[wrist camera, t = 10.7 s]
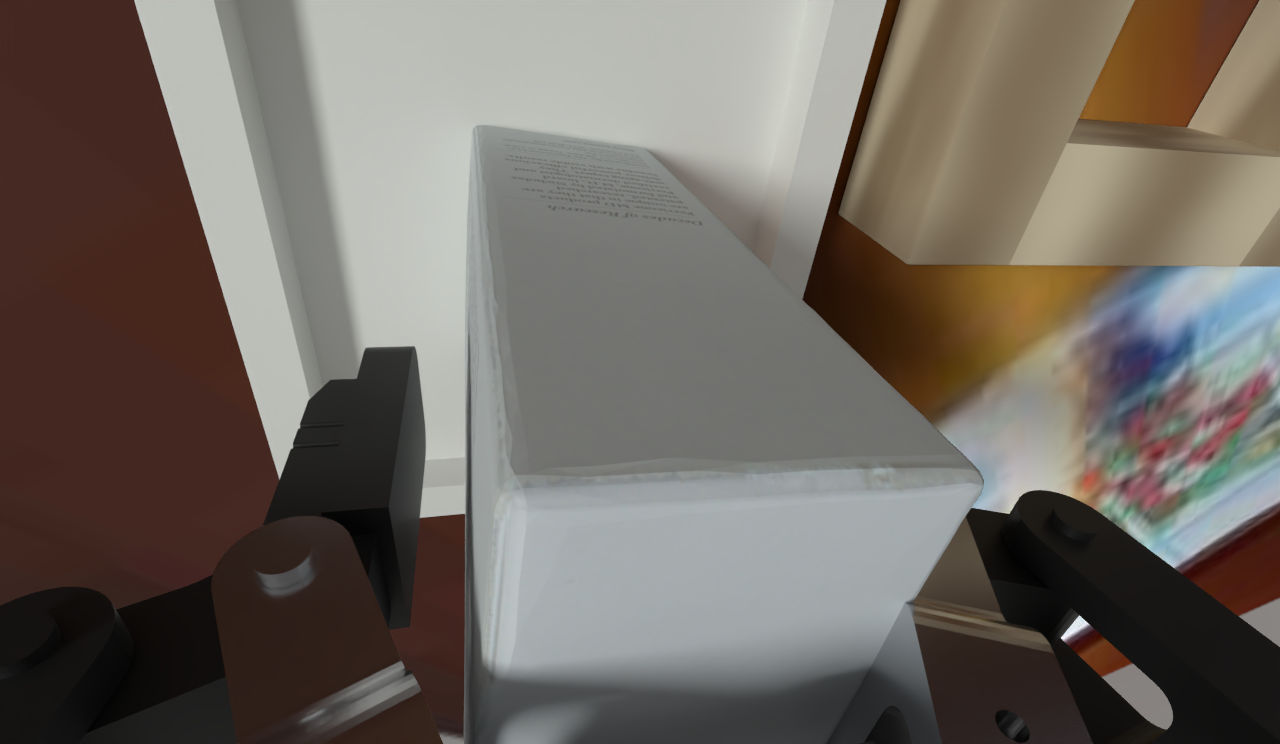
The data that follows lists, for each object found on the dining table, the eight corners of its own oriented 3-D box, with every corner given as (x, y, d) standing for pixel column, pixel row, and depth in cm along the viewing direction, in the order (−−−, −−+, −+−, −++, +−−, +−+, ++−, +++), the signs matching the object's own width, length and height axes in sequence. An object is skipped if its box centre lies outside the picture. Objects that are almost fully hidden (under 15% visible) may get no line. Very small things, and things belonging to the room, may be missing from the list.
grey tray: (867, -98, 13) (915, -103, 12) (731, 452, 22) (749, 487, 21) (116, -225, 10) (56, -254, 9) (308, 484, 19) (294, 529, 17)
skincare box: (615, 354, 18) (791, 824, 8) (463, 349, 17) (453, 895, 7) (654, 138, 15) (1016, 481, 5) (469, 112, 13) (469, 498, 4)
